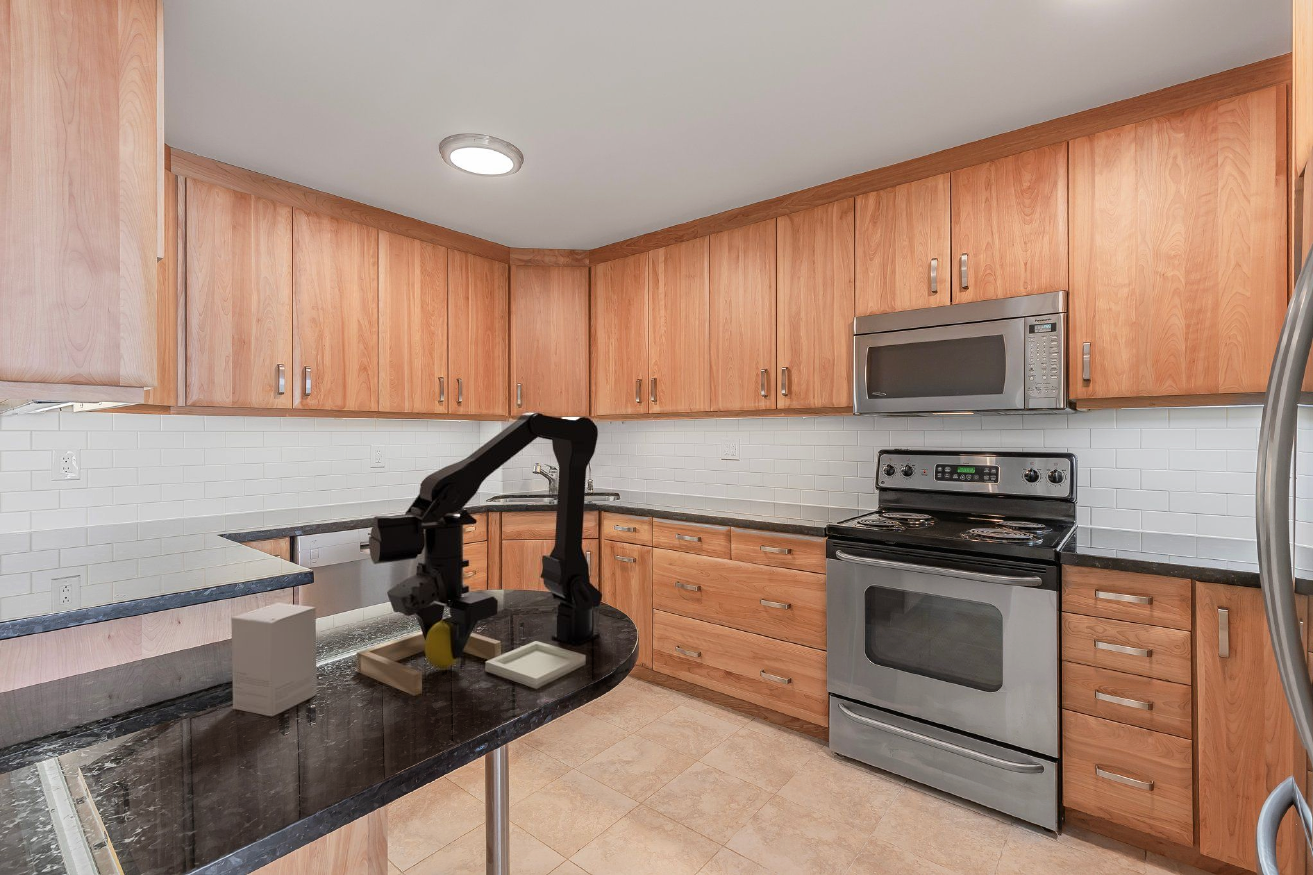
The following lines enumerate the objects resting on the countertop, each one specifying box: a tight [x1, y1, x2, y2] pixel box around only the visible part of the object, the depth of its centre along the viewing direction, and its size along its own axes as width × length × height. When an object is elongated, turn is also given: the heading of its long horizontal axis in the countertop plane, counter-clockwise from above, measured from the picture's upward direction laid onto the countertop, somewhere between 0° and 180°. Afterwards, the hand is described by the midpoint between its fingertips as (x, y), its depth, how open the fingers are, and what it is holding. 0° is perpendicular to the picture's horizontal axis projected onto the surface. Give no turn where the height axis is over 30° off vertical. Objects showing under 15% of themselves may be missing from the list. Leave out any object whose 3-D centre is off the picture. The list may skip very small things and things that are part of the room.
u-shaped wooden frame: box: [356, 630, 502, 697], centre depth 98 cm, size 16×15×3 cm
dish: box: [484, 640, 586, 690], centre depth 98 cm, size 11×11×2 cm
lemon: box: [424, 620, 459, 671], centre depth 96 cm, size 6×6×8 cm
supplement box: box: [230, 602, 318, 717], centre depth 85 cm, size 7×7×13 cm
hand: (443, 654), depth 96 cm, fingers closed on lemon, 6 cm apart
